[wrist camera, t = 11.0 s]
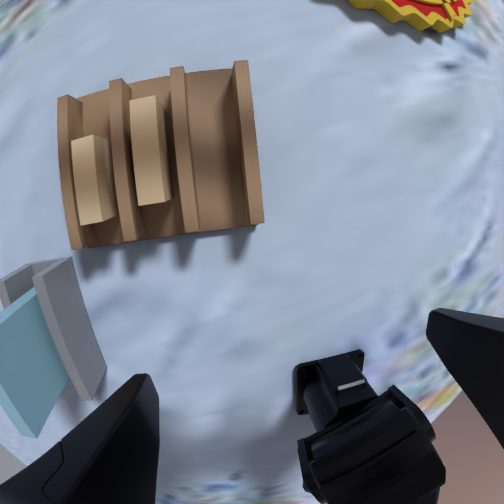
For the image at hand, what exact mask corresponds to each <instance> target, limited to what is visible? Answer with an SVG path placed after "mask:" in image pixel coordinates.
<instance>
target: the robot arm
mask: <svg viewBox="0 0 504 504" xmlns="http://www.w3.org/2000/svg"><path fill="white" fill-rule="evenodd" d="M426 336H427V339H428V340H429V342H430V343H431V345H432V346H433V348H434V350H435V351H436V353H437V354H438V356H439V357H440V359H441V361H442V362H443V364H444V365H445V367H446V368H447V370H448V371H449V372H450V374H451V375H452V376H453V378H454V379H455V380H456V382H457V383H458V384H459V386H460V387H461V388H462V390H463V391H464V392H465V394H466V395H467V396H468V398H469V399H470V400H471V402H472V403H473V404H474V406H475V407H476V408H477V410H478V412H479V413H480V414H481V416H482V417H483V419H484V420H485V422H486V423H487V425H488V426H489V428H490V429H491V430H492V432H493V433H494V435H495V437H496V438H497V440H498V441H499V443H500V444H501V446H502V447H503V449H504V318H499V317H492V316H486V315H480V314H474V313H468V312H462V311H456V310H450V309H445V308H437V309H435V310H432V311H431V312H430V313H429V316H428V323H427V329H426ZM359 354H360V355H359ZM358 355H359V356H358ZM363 362H364V352H363V351H362V350H360V349H359V350H355V351H351V352H348V353H344V354H340V355H336V356H332V357H328V358H324V359H319V360H315V361H311V362H306V363H301V364H299V365H297V367H296V411H297V414H298V415H304V414H308V413H309V415H310V417H311V419H312V422H313V424H314V426H315V429H316V431H317V432H316V433H315V434H313V435H311V436H309V437H306V438H302V439H300V440H298V441H297V442H298V454H299V460H300V466H301V472H302V477H303V489H304V490H305V491H306V492H308V493H312V495H313V496H314V497H315V498H316V499H317V500H318V501H319V502H320V503H321V504H325V503H327V504H437V501H438V496H439V490H440V487H441V486H442V485H443V484H445V477H446V474H445V473H446V469H445V467H444V465H443V463H442V461H441V459H440V457H439V455H438V454H437V452H436V450H435V448H434V446H433V445H432V443H431V442H432V441H434V440H435V439H436V436H435V433H434V430H433V428H432V426H431V424H430V422H429V420H428V419H427V417H426V416H425V415H424V413H423V412H422V411H421V409H420V408H419V407H418V406H417V405H416V404H415V403H413V402H412V401H411V400H410V399H409V398H408V397H407V396H406V395H405V394H403V393H402V392H401V391H400V390H399V389H398V388H397V387H396V386H395V385H392V386H391V387H389V388H388V390H387V391H385V392H384V393H382V394H381V395H379V396H378V395H377V394H376V392H375V391H374V390H373V388H372V387H371V386H370V384H369V383H368V382H367V379H366V378H365V376H364V375H363V373H362V369H363ZM302 368H304V369H303V370H300V369H302ZM301 410H302V411H301ZM159 444H160V436H159V397H158V393H157V391H156V389H155V386H154V384H153V382H152V379H151V377H150V375H149V374H147V373H143V374H135V375H133V376H132V377H131V378H130V379H129V380H128V381H127V382H126V383H124V384H123V385H122V386H121V387H120V388H119V389H118V390H117V391H116V392H114V393H113V394H112V395H111V396H110V397H109V398H108V399H107V400H105V401H104V402H103V403H102V404H101V405H100V406H99V407H98V408H96V409H95V410H94V411H93V412H92V413H91V414H90V415H89V416H87V417H86V418H85V419H84V420H83V421H82V422H81V423H79V424H78V425H77V426H76V427H75V428H74V429H73V430H71V431H70V432H69V433H68V434H67V435H66V436H65V437H63V438H62V439H61V441H59V442H58V443H57V444H55V445H54V446H53V447H52V448H51V449H50V450H48V451H47V452H46V453H45V454H43V455H42V456H41V457H40V458H38V459H37V460H36V461H34V462H33V463H32V464H30V465H29V466H27V467H26V468H25V469H23V470H22V471H20V472H19V473H17V474H16V475H14V476H13V477H11V478H10V479H8V480H7V481H5V482H4V483H2V484H1V485H0V504H155V495H156V480H157V468H158V456H159Z"/></svg>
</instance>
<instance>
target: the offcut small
mask: <svg viewBox="0 0 504 504" xmlns="http://www.w3.org/2000/svg"><path fill="white" fill-rule="evenodd" d="M71 148H72V162H73V173H74V183H75V191H76V199H77V206H78V213H79V219H80V225H81V226H82V225H87V224H92V223H97V222H103V221H105V220H107V219H110V218H112V217H114V216H117V215H119V209H118V202H117V194H116V186H115V178H114V169H113V158H112V146H111V141H110V140H107V139H105V138H102V137H99V136H96V135H90V136H86V137H83V138H79V139H76V140H73V141H71Z"/></svg>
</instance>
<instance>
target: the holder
mask: <svg viewBox="0 0 504 504" xmlns="http://www.w3.org/2000/svg"><path fill="white" fill-rule="evenodd" d="M33 287H35V290H36V294H37V297H38V300H39V303H40V306H41V309H42V312H43V315H44V318H45V320H46V323H47V326H48V329H49V331H50V334H51V336H52V339H53V341H54V344H55V346H56V348H57V351H58V353H59V355H60V357H61V360H62V362H63V364H64V366H65V368H66V370H67V373H68V375H69V377H70V379H71V381H72V383H73V385H74V386H75V388H76V390H77V392H78V394H79V396H80V398H81V400H93V398H94V395H95V393H96V391H97V388H98V386H99V384H100V382H101V379H102V377H103V375H104V373H105V371H106V368H107V366H106V363H105V361H104V359H103V356H102V353H101V351H100V348H99V346H98V343H97V340H96V338H95V335H94V332H93V329H92V326H91V323H90V320H89V317H88V314H87V311H86V308H85V305H84V302H83V298H82V295H81V291H80V288H79V284H78V280H77V277H76V273H75V269H74V265H73V260H72V257H67V258H60V259H54V260H48V261H42V262H36V263H30V264H26V265H24V266H22V267H21V268H19V269H17V270H15V271H14V272H12V273H10V274H9V275H7V276H5V277H4V278H2V279H0V298H1V301H2V304H3V307H4V309H5V308H7V307H8V306H9V305H11V304H12V303H13V302H14V301H16V300H17V299H18V298H20V297H21V296H22V295H24V294H25V293H26V292H28V291H29V290H30V289H32V288H33Z"/></svg>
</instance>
